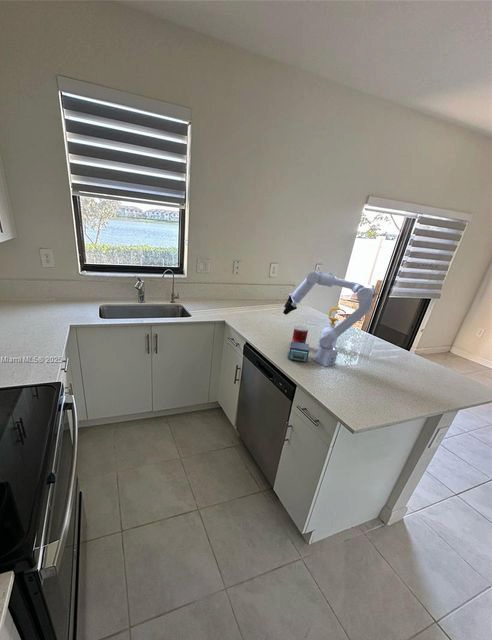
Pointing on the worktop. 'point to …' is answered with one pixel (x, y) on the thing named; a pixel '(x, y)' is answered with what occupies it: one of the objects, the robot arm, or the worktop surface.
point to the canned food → (300, 334)
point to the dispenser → (299, 348)
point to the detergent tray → (298, 355)
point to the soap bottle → (331, 324)
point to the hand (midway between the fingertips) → (285, 310)
